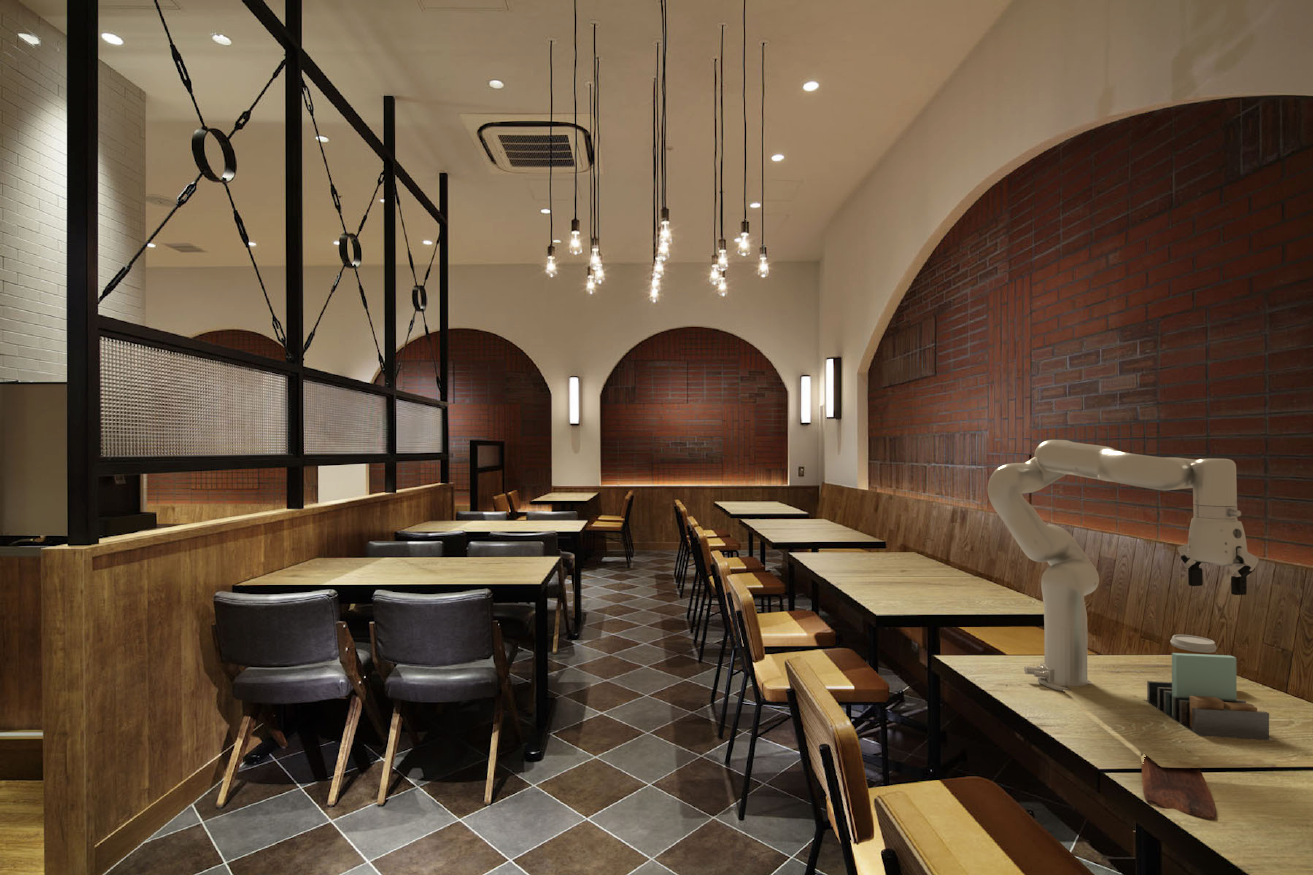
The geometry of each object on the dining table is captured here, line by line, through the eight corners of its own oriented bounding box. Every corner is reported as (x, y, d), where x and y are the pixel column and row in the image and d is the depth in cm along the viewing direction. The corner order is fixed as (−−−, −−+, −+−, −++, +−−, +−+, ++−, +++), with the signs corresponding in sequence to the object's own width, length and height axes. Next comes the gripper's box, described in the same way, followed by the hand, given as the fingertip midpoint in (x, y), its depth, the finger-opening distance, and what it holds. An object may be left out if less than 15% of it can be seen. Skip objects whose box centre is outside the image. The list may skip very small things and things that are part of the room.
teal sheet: (1176, 718, 147) (1176, 655, 147) (1172, 715, 149) (1171, 652, 149) (1236, 721, 145) (1236, 657, 146) (1231, 718, 147) (1231, 655, 147)
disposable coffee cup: (1213, 683, 173) (1213, 637, 173) (1221, 694, 165) (1220, 646, 165) (1167, 676, 178) (1167, 632, 178) (1173, 687, 170) (1173, 640, 170)
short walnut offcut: (1230, 732, 140) (1230, 706, 140) (1222, 727, 142) (1222, 701, 142) (1257, 734, 139) (1257, 707, 139) (1248, 729, 141) (1248, 703, 142)
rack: (1199, 742, 138) (1199, 711, 138) (1143, 705, 158) (1143, 678, 158) (1274, 747, 136) (1274, 715, 136) (1208, 709, 156) (1208, 681, 156)
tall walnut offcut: (1197, 730, 141) (1197, 699, 141) (1189, 725, 143) (1189, 695, 143) (1223, 732, 140) (1223, 701, 140) (1215, 727, 142) (1215, 696, 142)
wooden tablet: (1139, 742, 136) (1201, 749, 131) (1140, 753, 136) (1203, 761, 130) (1142, 798, 115) (1217, 810, 109) (1144, 812, 114) (1219, 824, 109)
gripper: (1270, 516, 140) (1272, 597, 140) (1192, 509, 157) (1193, 582, 157) (1240, 517, 139) (1242, 599, 139) (1165, 510, 156) (1166, 583, 156)
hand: (1216, 589), depth 148 cm, fingers open, 9 cm apart
